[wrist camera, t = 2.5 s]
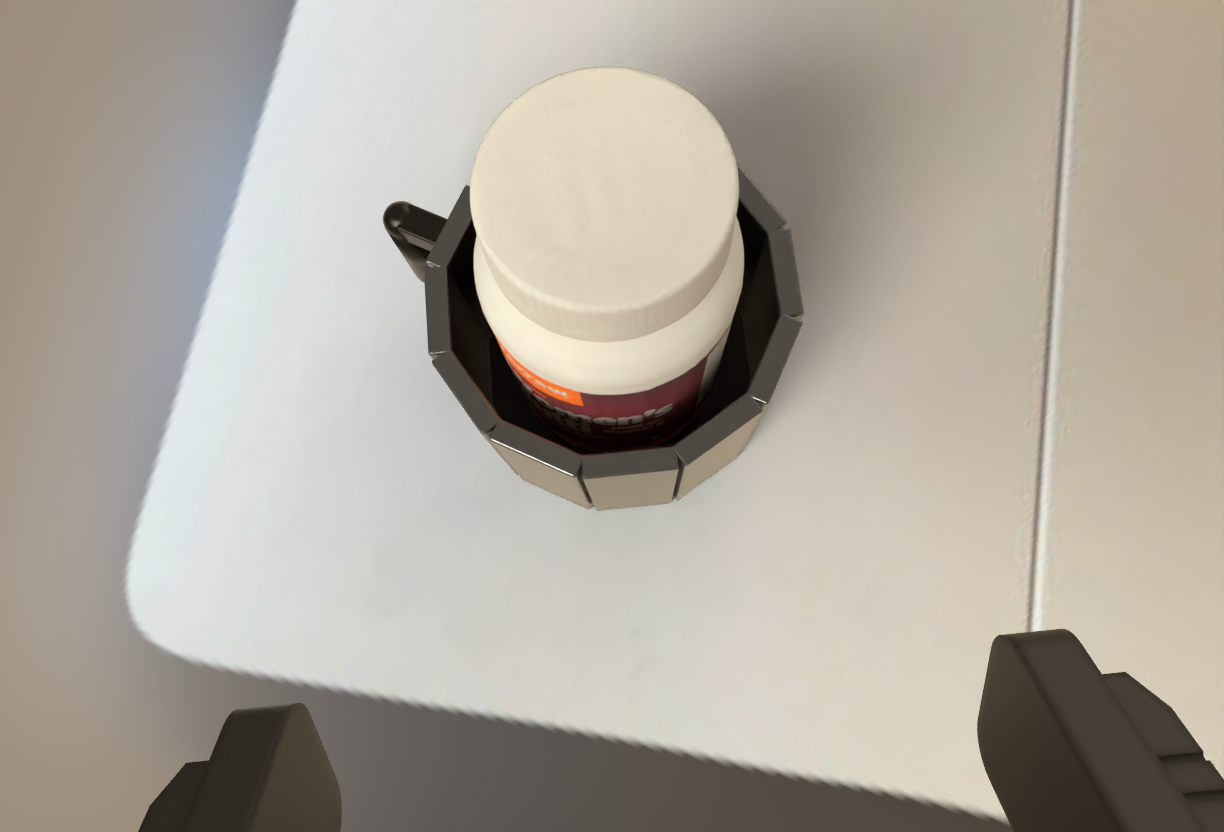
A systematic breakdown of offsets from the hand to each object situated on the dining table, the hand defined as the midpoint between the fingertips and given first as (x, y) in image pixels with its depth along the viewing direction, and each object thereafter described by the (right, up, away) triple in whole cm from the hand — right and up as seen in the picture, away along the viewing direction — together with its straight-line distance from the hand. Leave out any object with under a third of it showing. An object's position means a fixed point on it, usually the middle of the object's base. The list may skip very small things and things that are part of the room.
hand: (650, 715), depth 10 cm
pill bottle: (0, +5, +17) cm, 18 cm away
